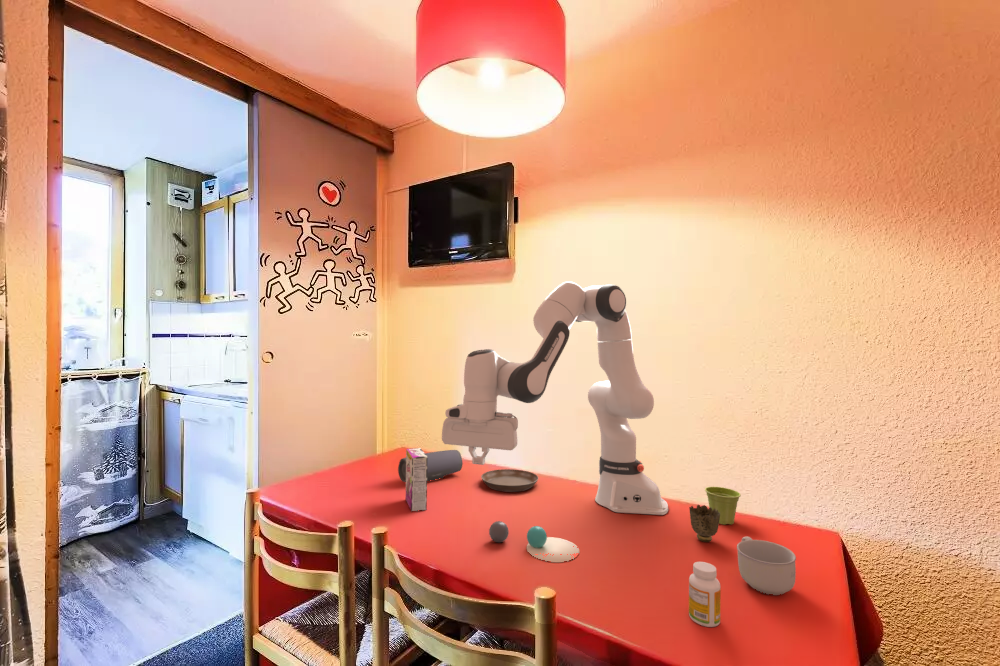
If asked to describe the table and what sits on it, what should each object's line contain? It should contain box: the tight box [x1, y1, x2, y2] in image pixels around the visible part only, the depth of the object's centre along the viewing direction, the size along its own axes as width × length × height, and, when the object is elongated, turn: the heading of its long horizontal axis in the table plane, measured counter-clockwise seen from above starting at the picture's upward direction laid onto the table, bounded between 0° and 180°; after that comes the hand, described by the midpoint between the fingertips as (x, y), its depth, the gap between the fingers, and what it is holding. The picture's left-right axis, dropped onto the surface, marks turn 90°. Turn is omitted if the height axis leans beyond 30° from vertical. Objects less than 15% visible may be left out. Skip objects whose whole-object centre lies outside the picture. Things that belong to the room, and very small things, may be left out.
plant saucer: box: [480, 468, 539, 493], centre depth 159 cm, size 21×21×3 cm
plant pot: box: [704, 486, 741, 526], centre depth 130 cm, size 9×9×9 cm
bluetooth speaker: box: [397, 449, 464, 483], centre depth 163 cm, size 23×9×10 cm, turn 130°
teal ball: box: [526, 525, 548, 548], centre depth 111 cm, size 5×5×5 cm
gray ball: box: [488, 520, 510, 543], centre depth 113 cm, size 5×5×5 cm
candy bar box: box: [405, 447, 428, 512], centre depth 137 cm, size 11×5×16 cm, turn 22°
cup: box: [688, 504, 720, 543], centre depth 117 cm, size 8×7×8 cm
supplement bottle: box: [688, 561, 722, 628], centre depth 83 cm, size 5×5×10 cm
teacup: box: [736, 536, 797, 596], centre depth 96 cm, size 14×11×8 cm
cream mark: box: [526, 536, 580, 563], centre depth 109 cm, size 13×13×1 cm
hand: (478, 463), depth 116 cm, fingers closed
